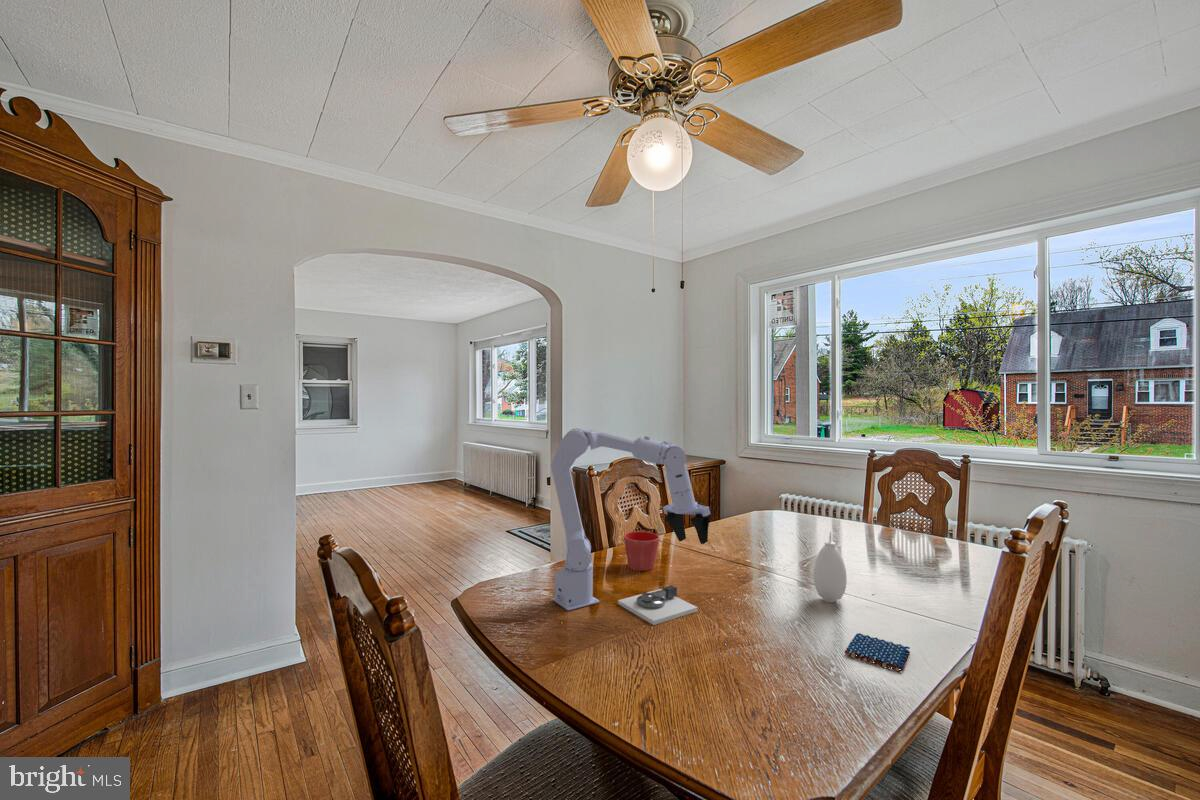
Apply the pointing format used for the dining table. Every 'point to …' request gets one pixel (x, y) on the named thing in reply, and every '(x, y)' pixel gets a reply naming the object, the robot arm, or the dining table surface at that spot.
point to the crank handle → (656, 597)
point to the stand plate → (659, 609)
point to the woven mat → (878, 651)
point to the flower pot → (641, 549)
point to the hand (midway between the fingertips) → (693, 541)
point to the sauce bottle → (830, 573)
